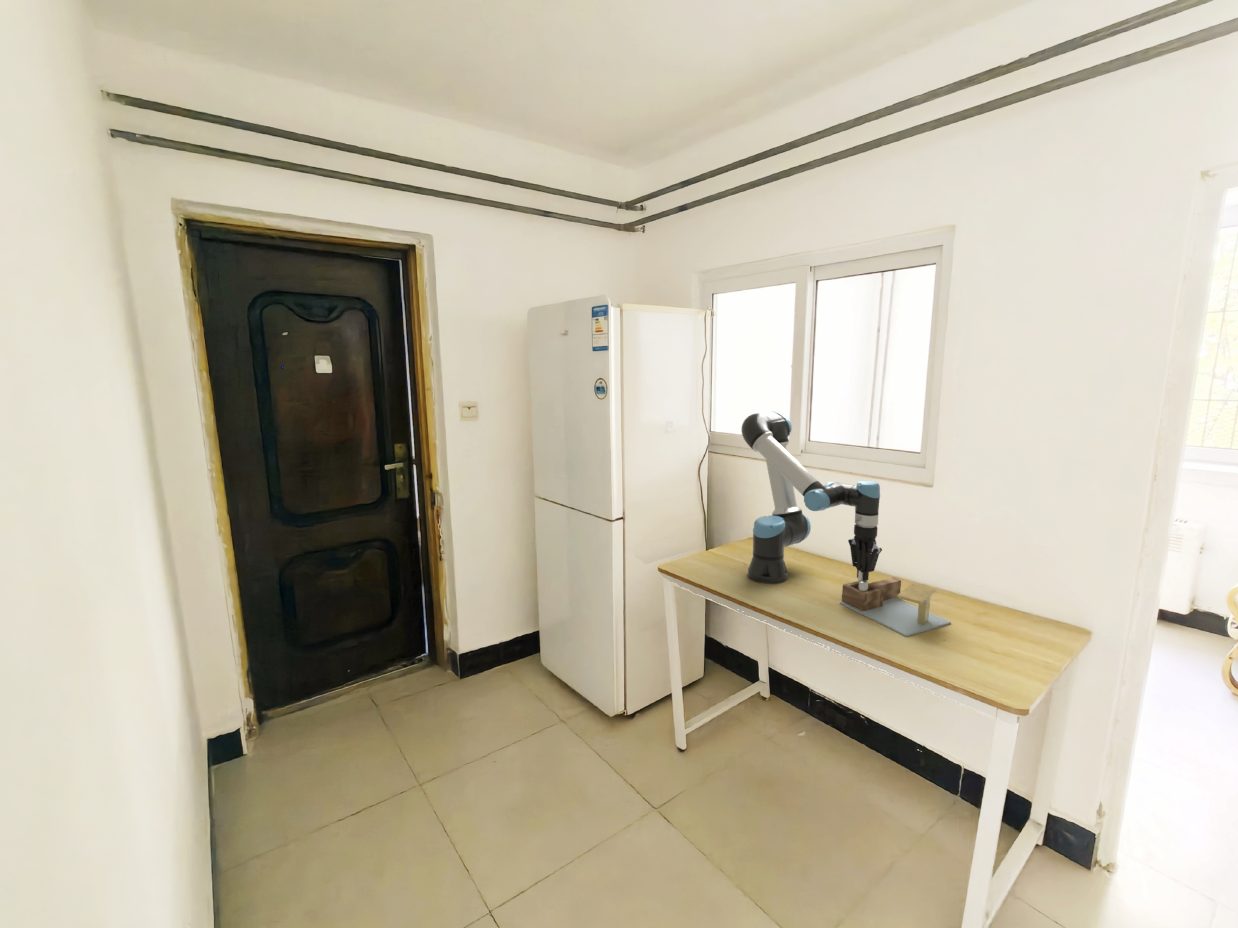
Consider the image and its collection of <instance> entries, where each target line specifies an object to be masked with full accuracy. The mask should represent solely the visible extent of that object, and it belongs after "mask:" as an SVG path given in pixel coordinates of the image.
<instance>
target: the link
mask: <svg viewBox="0 0 1238 928" xmlns="http://www.w3.org/2000/svg"><path fill="white" fill-rule="evenodd" d="M858 584H859V581H858V580H856V581H853V582H848V583H845V584H844V583H843V584H842V591H841V592H842V593H841V601H843V602H845V603H847V604H849V605H851V606H853V607H855V608H857V609H859V610H861V611H867V610H870V609H874V608H878V607H882V606H883V601H885V600H888V599H892V598H897V595H898V594H899V593H901V586H902V580H901V579H899V578H896V577H891V578H885V579H881V580H877V581H873V582H868V591H866V592H863V591H860V590H858Z"/></svg>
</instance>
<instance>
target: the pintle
mask: <svg viewBox="0 0 1238 928" xmlns="http://www.w3.org/2000/svg"><path fill="white" fill-rule="evenodd" d="M868 583H869V581H868V580H867V581H864V580H860V581H859V584H858V590H860V591H863V592H866V591H868Z"/></svg>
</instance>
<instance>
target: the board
mask: <svg viewBox="0 0 1238 928" xmlns="http://www.w3.org/2000/svg"><path fill="white" fill-rule="evenodd" d="M839 604H841V605H842V606H845V608H846V607H847V608H848V609H850V610H851V611H854V612H855V613H858V614H860V615H862V616H864V617H866V618H869V619H870V620H872V621H874V622H876V623H878V624H879V625H882V626H884V627H886V628H888V629H890V630H892V631H894V632H895V633H898V634H899V635H902V636H904V637H907V638H908V637H910V636H914V635H918V634H919V633H923V632H927V631H931V630H934V629H937V628H940V627H945V626H947V625H948V626H949V625H951V624H952V622H951V621H950V620H947V619H946V618H942V617H941V616H939V615H936V614H934V613H932V612H930V611H929V619H928V622H927V623H926V624H925V625H922V624H919V623H917V619H918V607H919V606H916V605H914V604H911V603H910V602H906V600H903V599H900V598H897V597H896V598H892V599H888V600H885V601H883V606H882V607H878V608H874V609H870V610H867V611H861V610H859V609H857V608H855V607H853V606H851V605H849V604H847V603H845V602H843V601H842V600H840V601H839Z"/></svg>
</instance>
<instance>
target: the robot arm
mask: <svg viewBox="0 0 1238 928" xmlns="http://www.w3.org/2000/svg"><path fill="white" fill-rule="evenodd" d="M792 430H793V429H792V422H791V420H790V418H789V417H788V416H787V415H786V414H784V413H783V412H780V411H768V412H767V411H766V412H760V413H758V412H757V413H753V414H750V415H748V416H747V417H746V418H745V419H744V420H743V423H742V424H741V435H742V438H743V440H744V442H745V443H746V444H747V445H748V447H749V448H751V450H752V451H754V452H758V453H759V454H760V455H761V456H763V458H764V459H765V463H766V468H767V472H768V474H767V475H768V479H769V483H770V484H769V485H770V489H771V495H772V499H773V505H774V510H773V511H772V512H771V515H768V516H767V515H764V516H760V517H758V518H757V519H755V520H754V522H753V529H752V532H753V533H752V537H753V538H752V557H751V558H752V559H751V560H750V564H749V566H748V567H747V577H748V578H749V579H750V580H752V581H755V582H757V583H762V584H774V585H775V584H780V583H784V582H786V581H787V580H788V577H789V576H788V569H787V566H786V563H785V562H786V561H785V559H784V557H785V548H786V547H790V546H792V545H793V546H794V545H795V544H796V545H797V544H799V543H801V542H804V541H805V540H806V539H807V538H808V537H809V535H810V533H811V528H812V527H811V522H810V519H809V518H808V517H806V514H804V513H803V509H802V507H800V506H798V505H797V499H796V495H795V489H796V491H798V492H799V493H800V494H801V496H803V502H804V506H805V507H806V508H807V509H808V510H809V511H812V512H818V511H819V512H820V511H825V510H826V509H829V508H834V507H837V506H840V505H845V506H849V507H854V509H855V510H854V527H853V535H854V536H853V538H850V539H848V543H849V549H850V555H851V556H850V557H851V563H852V566H853V567H855V568H856V578H857V581H860V580H864V581H867V582H868V581H869V576H870V575H869V574H870V573H872V572H874V571H875V568H876V565H877V562H878V560H879V559H878V558H879V556H880V554H881V553H882V551H883V549H882V547H878V545H877V539H876V538H877V537H878V525H879V510H880V509H879V507H880V498H881V486H880V483H878V482H876V481H871V480H870V481H869V480H860V481H857V483H856V484H847V483H842V482H839V481H828V482H826V483H825V485H823V484H822V483H821V482H820V480H818V479H816V477H815V476H813V474H812V473H810V471H808V470H807V468H805V467H804V466H803V465H802V464H801V463H800V462H799V461H798V460H797V459H796V458H795V457H794V456H793V455H792V454H791V453H790V452H789V451H787V446H788V444H789V442H790V441H789V436H790V435H791V433H792Z"/></svg>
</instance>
